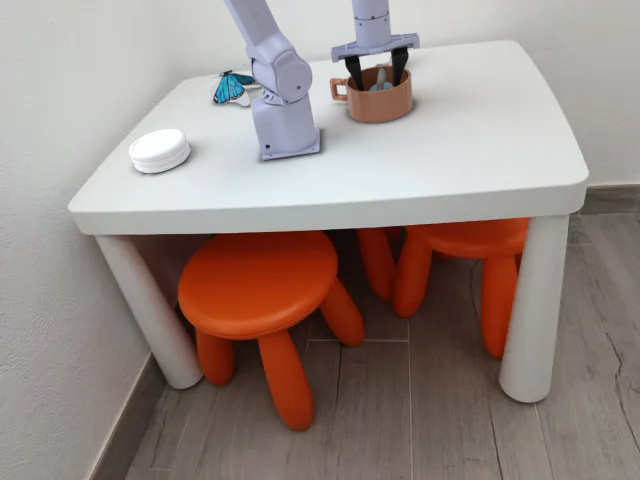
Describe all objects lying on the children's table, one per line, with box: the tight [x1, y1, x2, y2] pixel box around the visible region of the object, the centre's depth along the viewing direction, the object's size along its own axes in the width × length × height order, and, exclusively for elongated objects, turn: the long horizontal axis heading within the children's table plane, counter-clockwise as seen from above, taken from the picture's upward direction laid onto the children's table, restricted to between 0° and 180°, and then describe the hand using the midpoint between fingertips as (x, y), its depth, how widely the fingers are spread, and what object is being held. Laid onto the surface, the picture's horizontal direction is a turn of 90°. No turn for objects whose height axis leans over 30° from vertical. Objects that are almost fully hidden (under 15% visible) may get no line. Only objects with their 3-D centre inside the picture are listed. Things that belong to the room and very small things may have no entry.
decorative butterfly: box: [209, 63, 261, 107], centre depth 104 cm, size 10×6×10 cm
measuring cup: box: [329, 65, 414, 124], centre depth 90 cm, size 15×11×6 cm
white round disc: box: [128, 128, 191, 174], centre depth 88 cm, size 10×10×4 cm
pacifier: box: [368, 68, 393, 92], centre depth 88 cm, size 7×6×6 cm
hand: (379, 94), depth 89 cm, fingers closed on pacifier, 5 cm apart
